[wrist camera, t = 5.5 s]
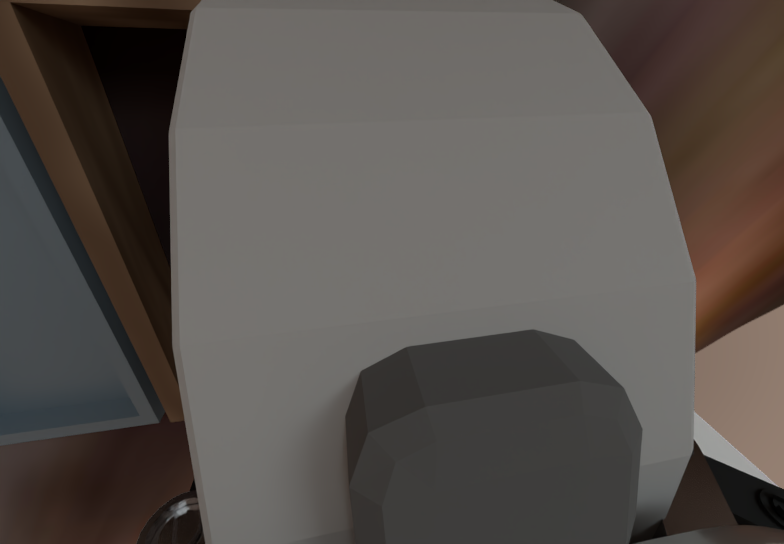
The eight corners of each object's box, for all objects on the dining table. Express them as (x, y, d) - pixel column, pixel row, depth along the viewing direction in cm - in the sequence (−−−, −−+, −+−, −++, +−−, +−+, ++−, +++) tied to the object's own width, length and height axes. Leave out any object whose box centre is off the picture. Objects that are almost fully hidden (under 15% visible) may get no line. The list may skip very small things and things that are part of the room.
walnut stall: (301, 10, 17) (294, -16, 13) (338, 362, 28) (339, 398, 25) (35, -2, 15) (-55, -36, 11) (191, 380, 27) (170, 422, 23)
